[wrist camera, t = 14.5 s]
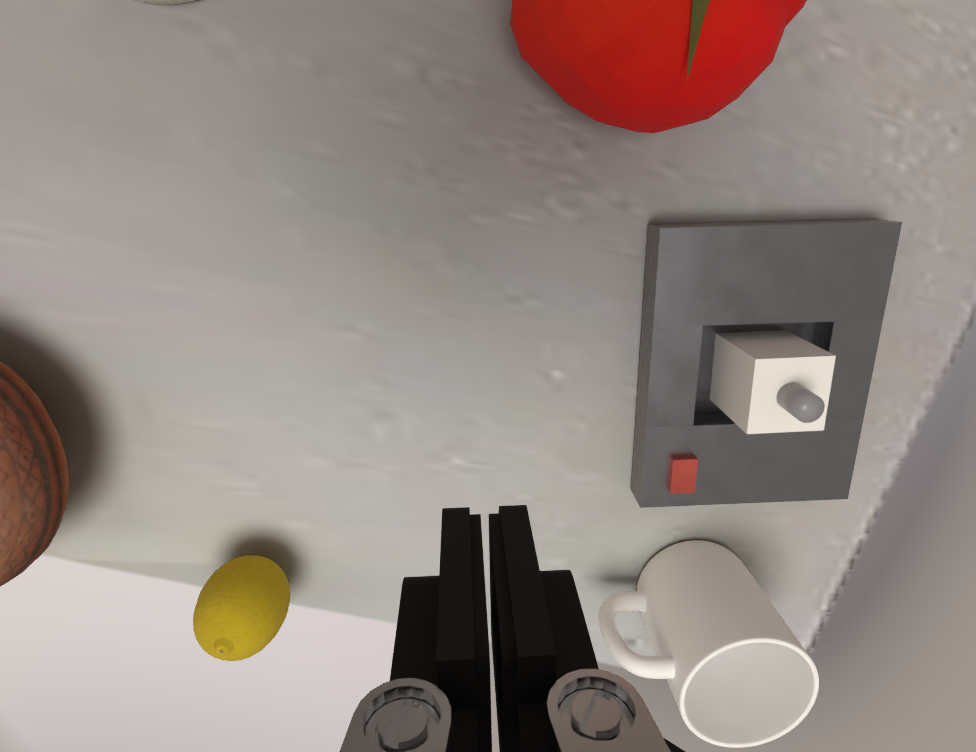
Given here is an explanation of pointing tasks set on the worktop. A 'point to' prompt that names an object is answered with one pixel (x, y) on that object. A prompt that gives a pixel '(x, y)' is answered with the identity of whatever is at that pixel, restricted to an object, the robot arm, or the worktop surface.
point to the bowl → (27, 476)
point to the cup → (716, 646)
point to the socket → (749, 308)
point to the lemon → (241, 607)
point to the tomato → (650, 54)
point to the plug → (771, 381)
